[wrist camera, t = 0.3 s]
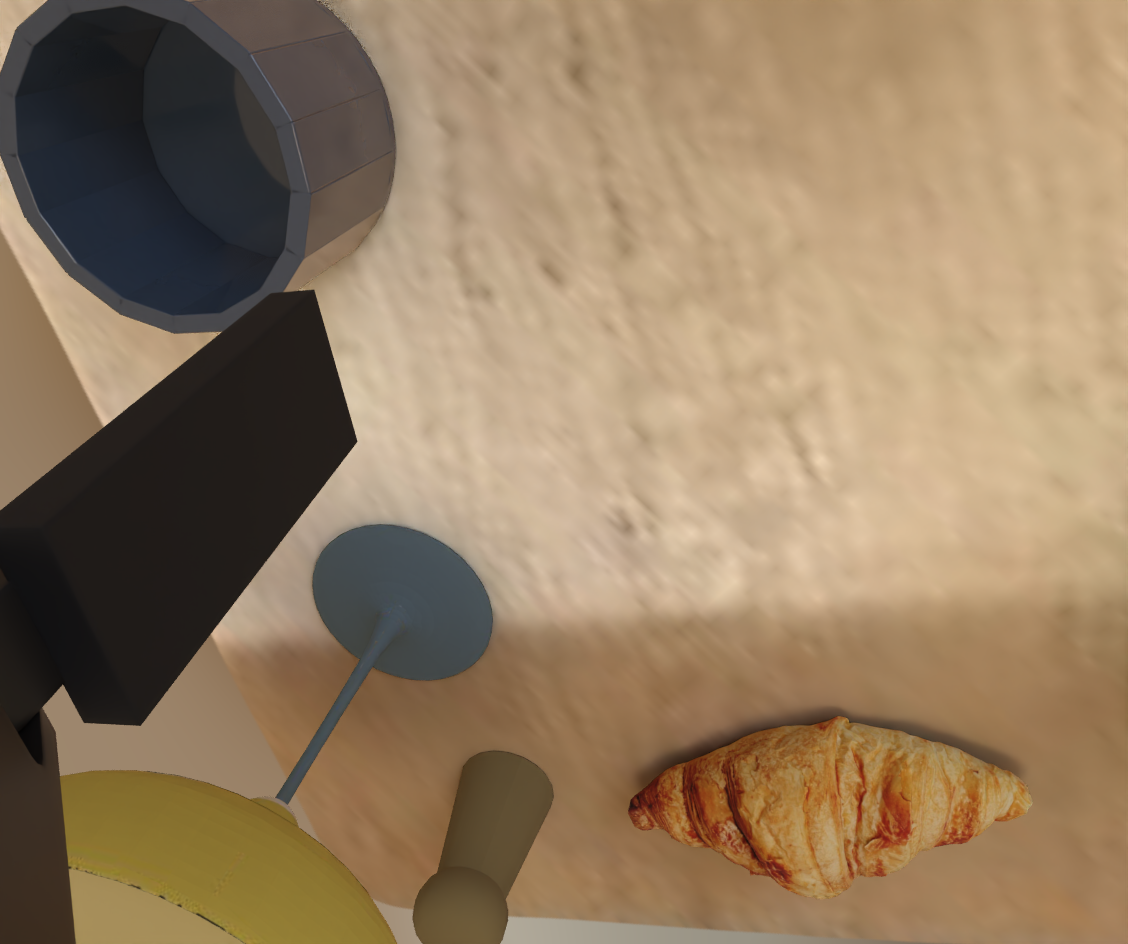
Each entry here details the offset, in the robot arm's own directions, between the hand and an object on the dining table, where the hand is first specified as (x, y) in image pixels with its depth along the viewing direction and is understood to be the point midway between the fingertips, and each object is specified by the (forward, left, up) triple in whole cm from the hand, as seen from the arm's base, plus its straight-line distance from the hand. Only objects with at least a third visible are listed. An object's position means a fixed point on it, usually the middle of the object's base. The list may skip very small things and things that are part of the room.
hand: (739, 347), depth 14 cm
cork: (+40, -18, -27) cm, 51 cm away
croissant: (+37, +1, -27) cm, 46 cm away
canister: (0, -23, -27) cm, 36 cm away
